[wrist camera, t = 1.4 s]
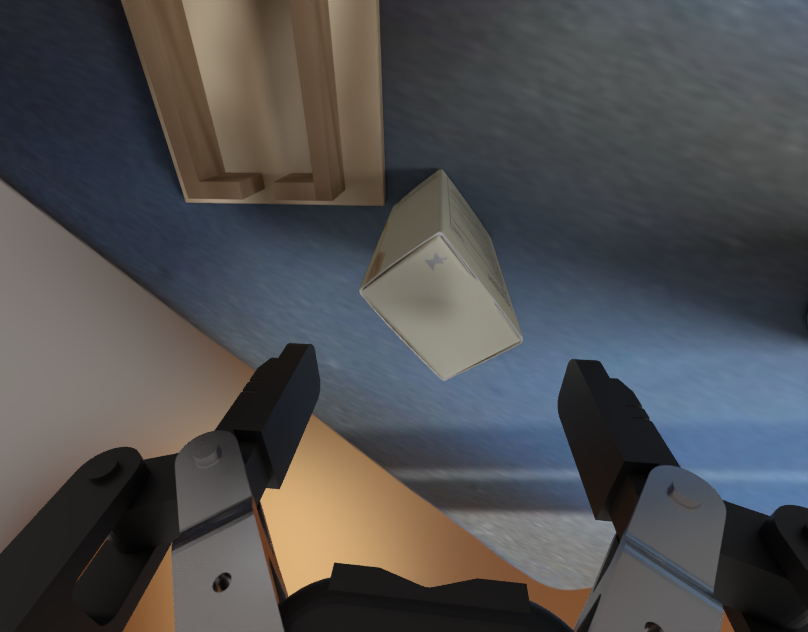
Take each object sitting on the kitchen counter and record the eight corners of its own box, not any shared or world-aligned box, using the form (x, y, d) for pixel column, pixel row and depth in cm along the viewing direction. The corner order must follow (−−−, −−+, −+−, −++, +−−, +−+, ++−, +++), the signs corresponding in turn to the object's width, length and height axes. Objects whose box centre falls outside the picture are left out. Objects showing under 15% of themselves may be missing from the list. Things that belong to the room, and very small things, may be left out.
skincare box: (390, 206, 25) (347, 286, 14) (442, 165, 23) (436, 221, 13) (445, 275, 27) (442, 387, 17) (495, 242, 25) (527, 344, 15)
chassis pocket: (376, -65, 18) (359, -104, 14) (386, 202, 25) (375, 219, 21) (118, -51, 19) (46, -82, 16) (194, 198, 26) (156, 214, 22)
